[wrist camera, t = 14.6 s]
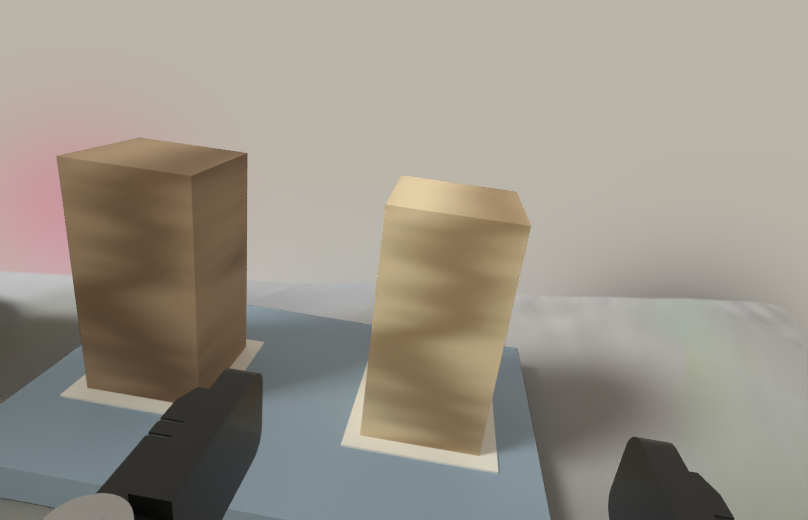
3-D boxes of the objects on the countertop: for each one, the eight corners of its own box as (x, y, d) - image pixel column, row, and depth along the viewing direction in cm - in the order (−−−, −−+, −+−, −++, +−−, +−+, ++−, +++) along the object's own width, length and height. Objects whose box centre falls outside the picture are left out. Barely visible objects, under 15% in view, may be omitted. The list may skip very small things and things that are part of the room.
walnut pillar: (87, 387, 22) (56, 156, 18) (153, 331, 26) (139, 137, 23) (199, 407, 22) (190, 175, 18) (246, 346, 26) (247, 153, 22)
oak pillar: (360, 435, 21) (385, 204, 17) (378, 368, 26) (401, 175, 22) (479, 456, 21) (530, 225, 17) (476, 384, 25) (516, 191, 22)
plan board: (-59, 486, 18) (-69, 451, 18) (157, 311, 31) (155, 288, 31) (550, 601, 17) (561, 568, 16) (512, 370, 30) (517, 347, 29)
